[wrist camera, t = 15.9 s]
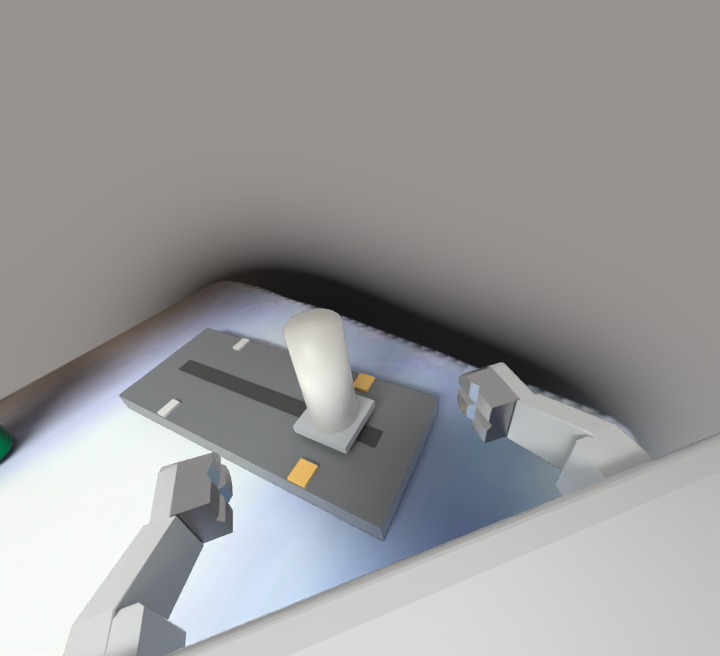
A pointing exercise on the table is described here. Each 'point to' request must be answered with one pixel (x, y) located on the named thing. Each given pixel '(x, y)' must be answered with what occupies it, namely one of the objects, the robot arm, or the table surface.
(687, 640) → the robot arm
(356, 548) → the table surface
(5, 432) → the soda can
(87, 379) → the table surface
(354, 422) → the fader knob
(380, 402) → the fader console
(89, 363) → the table surface
